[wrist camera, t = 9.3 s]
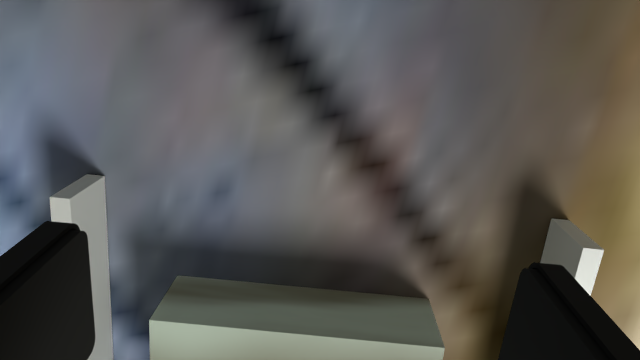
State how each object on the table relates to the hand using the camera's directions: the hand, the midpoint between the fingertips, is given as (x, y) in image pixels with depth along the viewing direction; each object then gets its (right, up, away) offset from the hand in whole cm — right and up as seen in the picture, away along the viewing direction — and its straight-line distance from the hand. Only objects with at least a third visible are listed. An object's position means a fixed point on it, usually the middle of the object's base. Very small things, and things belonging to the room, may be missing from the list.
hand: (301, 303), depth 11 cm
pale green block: (-1, -5, +14) cm, 15 cm away
